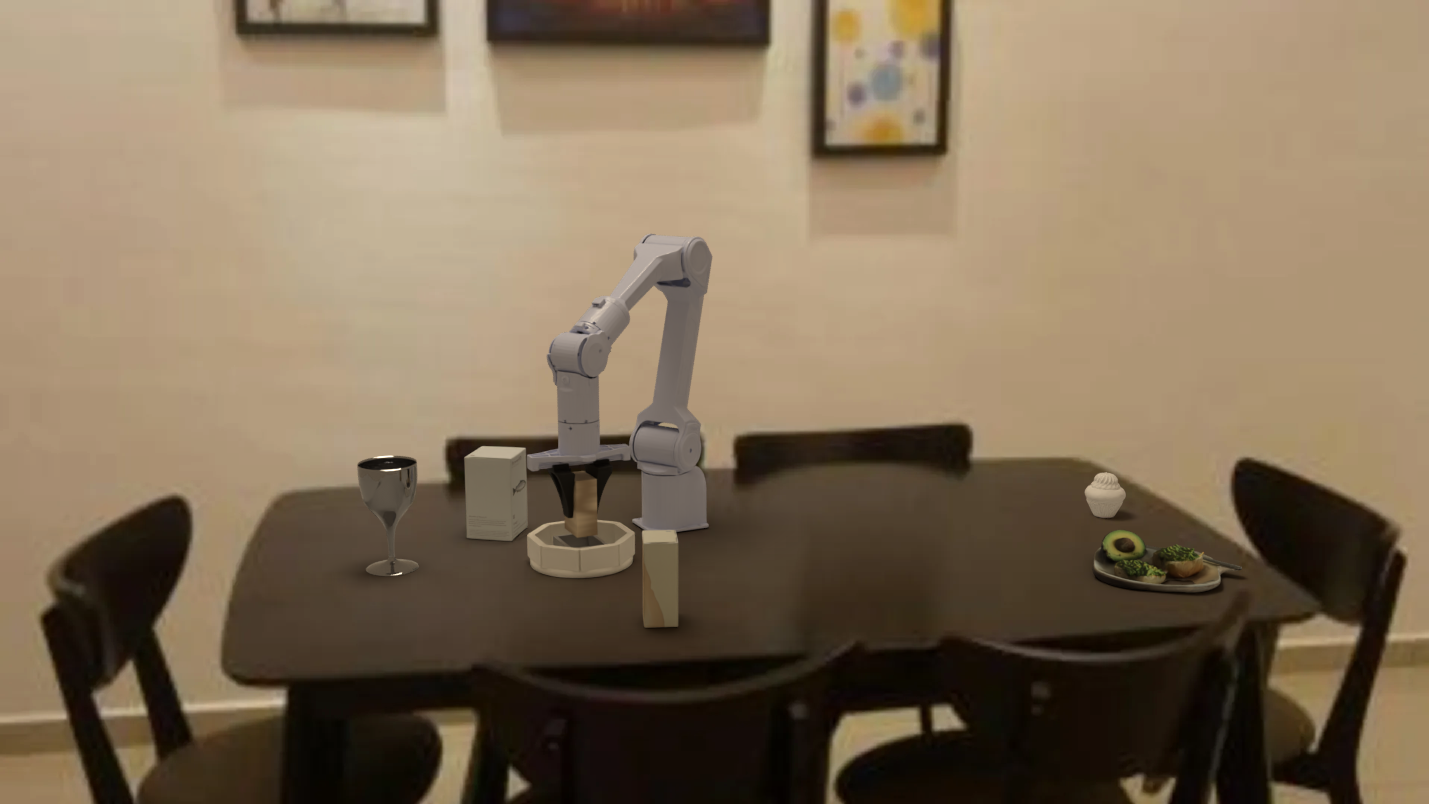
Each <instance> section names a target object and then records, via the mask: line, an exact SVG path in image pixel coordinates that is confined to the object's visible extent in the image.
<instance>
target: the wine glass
mask: <svg viewBox="0 0 1429 804" xmlns="http://www.w3.org/2000/svg"><path fill="white" fill-rule="evenodd" d="M356 466H357V469H356V470H357V479H358V481H357V482H358V486H359V491H360V495H361V498H362V502H363V504H364V505H365V506H366V507H367V509H368V510H369V511H370V512H371V513H372V514H373V515H374V516H375V517H376V518H377V519H378V520H379V521H380V522H381V524H382V525H383V528H384V530H385V533H386V538H387V546H388V558H387V559H383V560H379V561H376V562H373V563H371V564H369V565H368V566H367V567H365V571H366V573H368V574H369V575H373V576H378V577H394V576H395V577H397V576H402V575H406V574H410V573H412V572H415V571H416V570H418V568H419V567H420V565H419V563H418V562H416V561H414V560H411V559H404V558H403V559H402V558H396V554H395V541H396V539H395V537H396V528H397V526H398V524H399V521H400V520H401V519H402V517H404V515H405V514H406V512H407V511H408V510H409V508H410V507H411V505H412V504H413V502H414V500H415V497H416V491H417V487H418V461H417V459H416V458H414V457H410V456H406V455H405V456H404V455H383V456H375V457H369V458H366V459H362V460H360V461H359V462H357V465H356Z"/></svg>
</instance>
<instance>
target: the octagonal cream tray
mask: <svg viewBox="0 0 1429 804" xmlns="http://www.w3.org/2000/svg"><path fill="white" fill-rule="evenodd" d="M597 529H598V535H593V536H586V537H579V538H577V537H576V536H574V535H573V534H572V533H570V532H569V531H568V530H566V529H565V521H564V520H561V521H560V520H559V521H555V522H553V521H552V522H546V523H543V524H542V525H540V526H537V528H535V529H534V530H532V531H530V532H528V534H527V535H526V545H527V546H526V547H527V548H526V551H527V557H528V558H529V565H530V567H531V568H532V569H533V570H534V571H536V572H537V573H539V574H542V575H546V576H551V577H557V578H563V579H588V578H597V577H603V576H605V577H606V576H610V575H613V574H617V573H619V572H622V571H624V570H626V569H628V568H630V566H631V565H632V564H633V563H634V562H633V561H634V555H635V554H636V545H635V544H636V536H635V535H636V532H635V531H633V530H632V529H630V528H629V527H628V526H627V525H624V524H623V523H622V522H619V521H613V520H601V519H597Z"/></svg>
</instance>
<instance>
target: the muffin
mask: <svg viewBox="0 0 1429 804" xmlns="http://www.w3.org/2000/svg"><path fill="white" fill-rule="evenodd" d="M1084 495H1085V498H1086V499H1085V500H1086V502H1087V505H1088V506H1089V509H1090V511H1091V513H1092V515H1093V516H1094V517H1097V518H1103V519H1106V518H1107V519H1110V518H1115V516H1116V514H1117V513H1118V511H1119V509H1121V506H1122V505H1123V502H1124V500H1125V499H1126V496H1127V495H1126V491H1125V489H1124V488H1123V487H1121V485H1120V483H1119V479H1118V477H1117V476H1116V475H1115V474H1113V473H1110V472H1107V471H1106V472H1099V473H1097V474H1096V475H1095V476H1094V478H1093V481H1092V482H1091V483H1090V484H1089V485H1088V486H1087V487H1086V488H1085V489H1084Z"/></svg>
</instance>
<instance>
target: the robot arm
mask: <svg viewBox="0 0 1429 804" xmlns="http://www.w3.org/2000/svg"><path fill="white" fill-rule="evenodd" d="M712 261H713V254H712V252H711V250H710V248H709V246H708V244H707V241H706V240H705V239H704V238H703V237H701V236H697V235H695V236H694V235H693V236H678V235H665V234H664V235H663V234H655V233H648V234H647V233H646V234H645V235H644V236H642V237H641V239H639V243H638V244H636V245H635V246H634V248H633V261H632V263H631V264H630V266H629V267H628V268H627V270H626V271H625V273H624V274H623V276H622V278H621V279H620V280H619V282H618V283H617V284H616V286H615V287H614V289H613V290H612V292H611V293H610V295H601V296H599V297H595V298H594V299H593V300H592V302H591V305H590V306H589V307H588V309H587V310H586V311H585V312H584V313H583V315H582V316H581V317H580V318H579V319H578V320H577V321H576V323H575V324H574V325H573V326H572V327H571V329H570V330H569V331H564V332H560V333H559V334H558V335H557V336H555V337H554V338H553V339H552V341H551V343H550V345H549V349H548V353H546V362H547V365H548V367H549V369H550V370H551V372H552V382H553V383H554V386H556V393H557V394H556V395H557V397H556V400H557V401H556V402H557V407H556V408H557V439H558V442H557V443H558V447H557V448H555V449H550V450H546V451H542V452H538V453H532V454H530V453H529V454H526V469H528V470H529V471H531V472H538V471H540V470H543V469H545V470H547V472H548V475H549V476H550V478H551V480H552V482H553V484H554V487H555V488H556V491H557V495H558V496H559V500H560V503H561V508H562V513H563V516H564V515H565V516H566V517H567V518H573V512H574V505H573V488H574V480H575V474H574V473H573V472H574V471H572V468H571V466H579V465H583V466H584V471H585V472H586V473H588V474H589V475H591V476H593V477H594V478H596V479H597V515H598V513H599V508H600V503H601V499H602V495H603V492H604V490H605V488H606V485H607V483H608V481H609V479H610V477H611V476H612V474H613V471H614V470H613V469H614V468H613V464H611V463H610V462H612V461H614V462H615V461H624V462H625V461H631V458H632V460H633V461H634V462H636V464H637V467H636V468H637V469H638V470H641V517H638V518H637V517H636V518H632V521H631V522H632V523H633V524H635V525H636V526H638V527H640V528H641V529H642V530H643V531H646V530H675V531H676V533H678V532H685V531H693V530H699V529H704V528H705V529H706V528H709V525H710V524H709V523H708V522H707V521H708V520H707V517H708V516H707V482H706V478H705V474H704V472H703V470H702V469H701V468H700V467H699V466H697V464H698V462H699V460H700V457H701V454H702V441H701V427H702V424H701V422H700V421H699V419H697V417H695V415H694V414H693V413H692V412H691V411H690V409H689V408H688V407H689V406H688V404H689V400H690V392H691V384H692V379H693V378H692V377H693V372H694V366H695V358H696V351H697V346H698V345H697V344H698V337H699V332H700V325H701V317H702V312H703V306H704V305H703V304H704V299H705V298H704V297H705V295H707V293H708V289H709V283H710V282H709V281H710V276H711V275H710V274H711V269H712ZM653 287H655V288H656V289H657V290H658V291H660V292H662V294H663V295H664V297H665V298H666V300H667V303H666V304H667V305H666V311H665V312H666V313H665V317H664V318H665V319H664V325H663V331H662V338H661V343H660V344H661V345H660V350H659V358H658V366H657V369H656V370H657V372H656V377H655V385H654V391H653V397H652V403H651V404H649V405H648V406H647V407H646V408H644V409H643V410H641V411H640V412H639V413H637V416H636V417H637V418H636V423H635V426H634V428H633V430H632V432H631V435H630V438H629V442H628V444H626V443H622V444H621V443H619V444H601V435H600V434H601V433H600V432H601V431H600V430H601V429H600V426H601V425H600V422H601V421H600V420H601V419H600V377H599V376H600V374H602V372H604V371H605V370H606V367H607V364H608V360H609V355H610V354H611V352H612V349H613V348H612V346H613V344H614V343H615V342H616V340H617V339H618V338H619V337H620V336H621V334H622V333H623V332H624V330H625V329H626V328H627V326H629V325H630V322H631V316H630V311H631V310H632V309H633V308H634V307H635V306H636V304H638V303H639V302H640V300H641V299H642V298H643V297H645V295H646V294H647V293H648V292H649V291H650V290H651V289H652V288H653ZM661 424H670V425H674V426H676V427H671V426H665V425H661Z"/></svg>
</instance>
